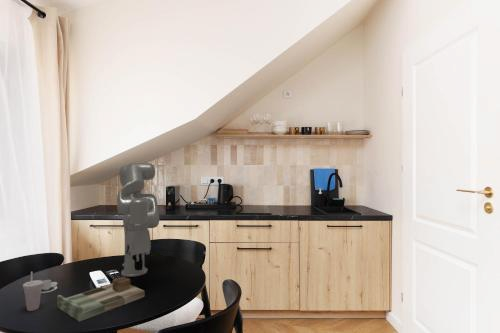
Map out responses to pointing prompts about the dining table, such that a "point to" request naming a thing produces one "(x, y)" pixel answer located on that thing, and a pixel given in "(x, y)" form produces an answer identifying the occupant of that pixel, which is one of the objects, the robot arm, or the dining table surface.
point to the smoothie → (32, 293)
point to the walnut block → (121, 284)
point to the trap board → (97, 301)
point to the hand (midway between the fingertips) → (138, 269)
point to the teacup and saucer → (49, 285)
